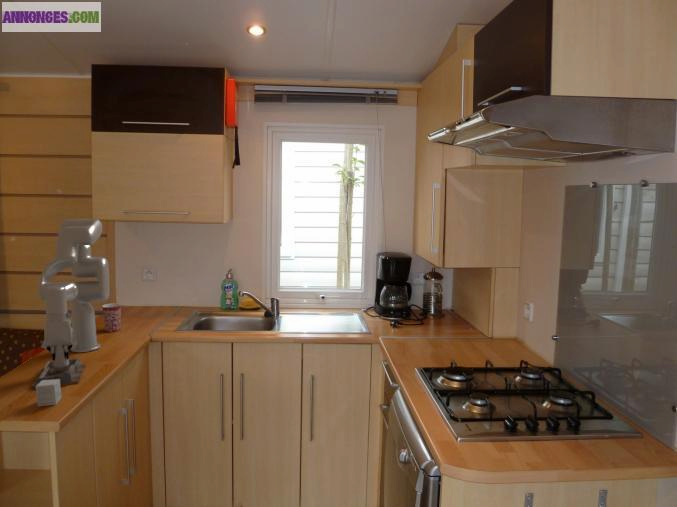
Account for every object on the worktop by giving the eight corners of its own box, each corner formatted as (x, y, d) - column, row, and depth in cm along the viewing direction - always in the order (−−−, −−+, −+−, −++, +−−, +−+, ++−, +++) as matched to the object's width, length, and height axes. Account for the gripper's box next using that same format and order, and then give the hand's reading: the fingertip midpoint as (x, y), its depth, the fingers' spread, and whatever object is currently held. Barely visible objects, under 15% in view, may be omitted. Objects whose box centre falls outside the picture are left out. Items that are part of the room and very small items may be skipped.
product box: (62, 398, 193) (60, 378, 192) (56, 405, 187) (54, 384, 186) (43, 399, 192) (41, 379, 191) (36, 406, 186) (35, 386, 185)
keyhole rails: (48, 366, 224) (48, 361, 224) (80, 363, 228) (80, 357, 227) (37, 385, 203) (36, 378, 203) (72, 381, 207) (72, 375, 206)
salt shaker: (65, 366, 223) (63, 336, 221) (72, 369, 219) (69, 338, 218) (51, 370, 218) (48, 339, 217) (57, 373, 215) (54, 341, 213)
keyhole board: (43, 369, 223) (43, 367, 223) (85, 365, 228) (85, 363, 228) (31, 388, 203) (31, 386, 202) (78, 383, 208) (78, 380, 207)
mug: (119, 332, 279) (117, 306, 277) (101, 333, 279) (99, 307, 277) (127, 326, 292) (125, 301, 290) (110, 326, 291) (108, 301, 289)
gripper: (81, 313, 222) (84, 356, 224) (36, 316, 217) (40, 361, 219) (78, 317, 215) (82, 362, 217) (32, 321, 210) (36, 367, 212)
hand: (61, 361), depth 218 cm, fingers closed on salt shaker, 3 cm apart
